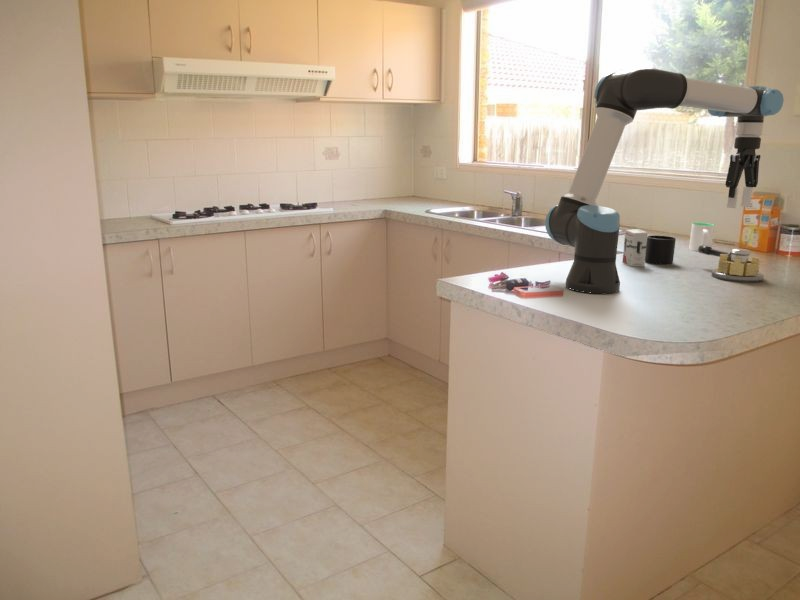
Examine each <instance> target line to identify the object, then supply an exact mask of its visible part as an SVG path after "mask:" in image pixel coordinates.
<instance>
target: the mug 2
mask: <svg viewBox="0 0 800 600" xmlns="http://www.w3.org/2000/svg"><path fill="white" fill-rule="evenodd" d="M714 229H715V224H712V223H707V222H705V223H704V222H692V223H691V230H690V237H689V247H688V250H689V251H692V252H698V253H700V252H699V251H698V248H699V246H701V245H703V246H708V247H711V248H712V245H713V240H714V239H713V238H714V232H715V231H714Z"/></svg>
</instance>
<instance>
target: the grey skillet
mask: <svg viewBox="0 0 800 600" xmlns="http://www.w3.org/2000/svg"><path fill="white" fill-rule="evenodd" d="M698 251H699V252H698ZM698 251H697V252H698V253H700V254H704V255H708V256H711V255H712V256H716V257H719V259H718V265H717V269H718V272H722V273H725V274H730V275H739V276H743V275H744V276H756V275H758V273H760V272H759V270H760V266H761V257H758V256H752V257H751V259H749V260H748V263H741V262H742V258H737V257H736V258H735V262H731V255H732V253H731V252H730V251H728V252H727V251H724V250H719V249H715V248H712V247H708V246H703V245H701V246H699V248H698Z"/></svg>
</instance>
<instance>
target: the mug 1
mask: <svg viewBox="0 0 800 600" xmlns="http://www.w3.org/2000/svg"><path fill="white" fill-rule="evenodd" d="M676 239H677V238H676V237H674V236H670V235H669V236H668V235H657V234H655V235H654V234H653V235H647V244H646V255H645V263H648V264H650V265H651V264H652V265H659V266H667V265H672V264H673V263H674V255H675V248H676Z"/></svg>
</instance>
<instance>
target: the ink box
mask: <svg viewBox="0 0 800 600" xmlns="http://www.w3.org/2000/svg"><path fill="white" fill-rule="evenodd" d="M647 237H648V232H647V231H645V230H642V229H639V228H638V229H636V228H635V229H625V230H624V241H623V242H624V243H623V252H622V253H623V254H622V263H624V264H626V265H627V266H629V267H645V265H646V262H645V255H646V244H647Z"/></svg>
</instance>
